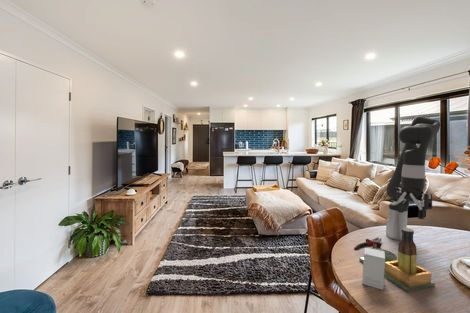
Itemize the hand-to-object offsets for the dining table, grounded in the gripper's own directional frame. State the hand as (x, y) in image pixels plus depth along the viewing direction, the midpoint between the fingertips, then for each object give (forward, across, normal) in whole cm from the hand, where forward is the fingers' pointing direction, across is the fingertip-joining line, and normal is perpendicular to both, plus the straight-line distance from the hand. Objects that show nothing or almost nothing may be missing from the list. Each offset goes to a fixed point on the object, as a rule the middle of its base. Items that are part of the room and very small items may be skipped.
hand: (410, 215), depth 95 cm
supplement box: (+28, +2, +15) cm, 32 cm away
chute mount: (+27, +6, 0) cm, 28 cm away
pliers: (+28, +29, -11) cm, 42 cm away
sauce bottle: (+26, 0, 0) cm, 26 cm away
